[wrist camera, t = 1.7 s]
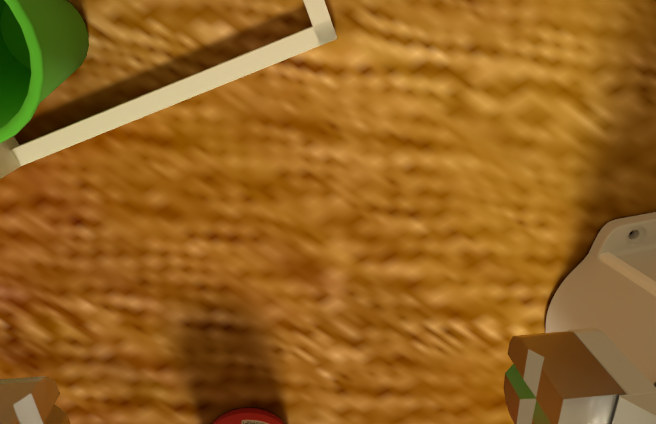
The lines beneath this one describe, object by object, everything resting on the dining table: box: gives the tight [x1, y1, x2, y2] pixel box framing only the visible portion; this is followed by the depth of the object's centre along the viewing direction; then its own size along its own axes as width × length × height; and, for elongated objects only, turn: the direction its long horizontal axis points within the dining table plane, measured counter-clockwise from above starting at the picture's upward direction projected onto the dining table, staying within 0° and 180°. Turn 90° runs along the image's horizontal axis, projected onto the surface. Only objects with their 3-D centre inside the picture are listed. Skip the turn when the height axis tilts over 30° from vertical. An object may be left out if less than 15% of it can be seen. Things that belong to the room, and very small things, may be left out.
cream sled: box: [0, 0, 337, 179], centre depth 27 cm, size 25×13×7 cm, turn 111°
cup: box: [0, 0, 89, 143], centre depth 26 cm, size 9×9×11 cm
